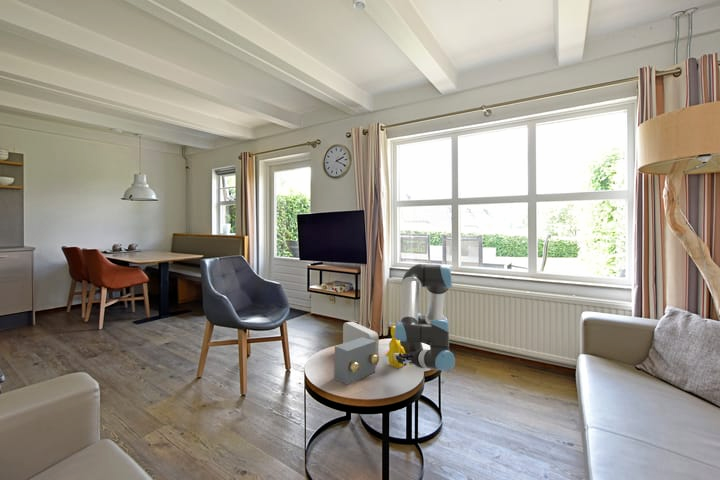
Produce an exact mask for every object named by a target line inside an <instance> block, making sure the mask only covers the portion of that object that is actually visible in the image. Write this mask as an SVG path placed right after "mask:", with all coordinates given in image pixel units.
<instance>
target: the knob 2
mask: <svg viewBox="0 0 720 480" xmlns="http://www.w3.org/2000/svg"><path fill="white" fill-rule="evenodd" d="M379 361H380V356H379V355H378V356H377V355H374V354H371V355H370V356H369V362H370V363H372V364H375V366H377V365H378V364H379ZM377 363H378V364H377ZM376 364H377V365H376Z"/></svg>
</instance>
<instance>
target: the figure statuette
mask: <svg viewBox="0 0 720 480" xmlns="http://www.w3.org/2000/svg"><path fill="white" fill-rule="evenodd" d="M390 335H391V340H390V342H388V347H389V349H388V351H387V352H386V353H385V356H386V357H387V359H388V364H389V365H390V366H392V367H394V368H397V369H400V368H402V367H404V364H401V363H399V362H398V360H395V359H394V355H393V354H395V353H401V354H404V353H405V350H404V348H403V347H402V346H401V344H400V340H396V338H395V325H393V326H391V328H390ZM408 364H409V366H411V365H412V364H410V363H408Z"/></svg>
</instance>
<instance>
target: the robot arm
mask: <svg viewBox="0 0 720 480" xmlns="http://www.w3.org/2000/svg"><path fill="white" fill-rule="evenodd" d="M451 272H452V269H451V266H450V265H447V264H433V263H432V264H431V263H429V264H428V263H427V264H426V263H424V264H423V263H418V264H415V265H413V266H411V267H410V268H409V269H408V270H406V272H405V273H404V275H403V276H402V282H401V287H402V288H403V291H402V303H401V315H400V321H397V322H395V324H394V326H395V338H396V340H399V342H400V344H401V346H402V347H403V348H404V350H405V353H404V354H401V353H395V354H393V355H394V359H395V360H398V362H399V363H401V364H403V367H404V366H407V365H408V364H409V363H410V364H411V365H414V366H415V367H416V368H419V369H427V370H432V371H433V370H436V371H442V372H443V371H450V370H453V368H454V367H455V364H456V358H455V356H454V353H453V352H451V351H450V328H449V327H450V326H449V322H448V318H447V317H445V315H444V307H445V298H446V297H445V296H446V293H447V292H448V290H449V289H451V288H452V287H453V286H452V285H453V282H452V273H451ZM421 287H424V288H426V289H427V291H428V297H427V298H428V302H427V312H426V314H425V315H422V313H421V312H419V308H420V307H419V306H420V305H419V303H420V302H419V301H420V290H421ZM423 343H424V344H429V347H430V348H429V349H424V347H423Z"/></svg>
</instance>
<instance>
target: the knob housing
mask: <svg viewBox="0 0 720 480" xmlns="http://www.w3.org/2000/svg"><path fill="white" fill-rule="evenodd" d="M375 351H376V341H373V340H370V339H367V338H364V337H362V338H358V339H355V340H352V341H349V342H346V343H343V342H342V343H340V344H337V345H334V362H333V363H334V368H333V369H334V373H333V374H334V375H333V376H334V377H333V378H334V380H336V381H339V382H341V383H342V384H345V385H347V386H348V385H349V384H352V383H355V382H357V381H358V380H361V379H363V378H365V377H367V376H369V375H371V374H374V373H376V365H375V364H372V363H370V362H369V356H370V355H371V354H374V355H375ZM351 362H356V363H358V364H359V365H360V369H359V371H358V372H357V373H354V372H352V371H350V370H349V364H350V363H351Z"/></svg>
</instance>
